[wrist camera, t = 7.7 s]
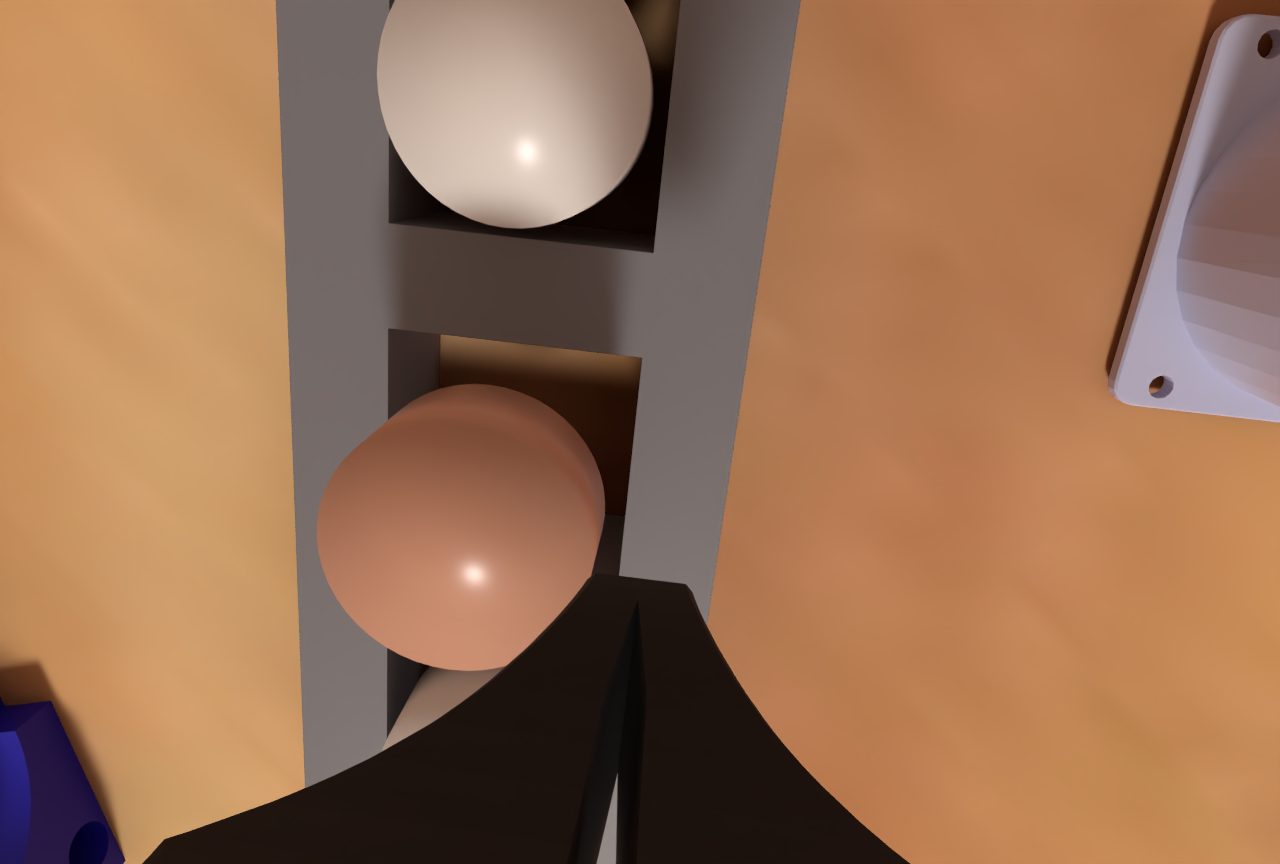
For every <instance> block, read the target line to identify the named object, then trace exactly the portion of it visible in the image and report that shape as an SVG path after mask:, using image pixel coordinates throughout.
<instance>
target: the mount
mask: <svg viewBox="0 0 1280 864" xmlns="http://www.w3.org/2000/svg"><path fill="white" fill-rule="evenodd" d="M394 1H395V0H276V16H277V43H278V70H279V97H280V124H281V151H282V178H283V204H284V231H285V258H286V285H287V312H288V339H289V366H290V393H291V420H292V447H293V474H294V501H295V528H296V555H297V582H298V609H299V636H300V662H301V689H302V716H303V743H304V770H305V788H307V787H309V786H311V785H313V784H316V783H318V782H320V781H322V780H325V779H327V778H329V777H332V776H334V775H336V774H338V773H340V772H342V771H344V770H346V769H348V768H350V767H352V766H355V765H357V764H359V763H361V762H363V761H365V760H367V759H369V758H371V757H373V756H375V755H377V754H378V753H380V752H381V751H382V748H383V746H384V744H385V742H386V740H387V738H388V736H389V734H390V732H391V730H392V728H393V727H394V725H395V723H396V721H397V719H398V717H399V715H400V713H401V711H402V710H403V708H404V706H405V704H406V702H407V700H408V698H409V696H410V694H411V693H412V691H413V689H414V687H415V685H416V683H417V682H418V680H419V679H420V677H421V676H422V675H423V673H424V672H425V671H426V670H427V669H428V668H429V667H430V666H429V665H426V664H422V663H419V662H416V661H413V660H411V659H409V658H406V657H404V656H402V655H399V654H398V653H396V652H394V651H392V650H390V649H389V648H387V647H385V646H383V645H382V644H381V643H379V642H378V641H376V640H375V639H374V638H372V637H371V636H370V635H368V634H367V633H366V632H365V631H364V630H363V629H362V628H361V627H359V626H358V625H357V624H356V623H355V621H354V620H353V619H352V618H351V617H350V616H349V615H348V614H347V612H346V611H345V610H344V608H343V607H342V606H341V604H340V603H339V601H338V600H337V598H336V597H335V595H334V593H333V591H332V589H331V587H330V586H329V584H328V581H327V579H326V576H325V574H324V571H323V568H322V565H321V561H320V557H319V553H318V544H317V517H318V512H319V507H320V502H321V499H322V497H323V494H324V491H325V488H326V486H327V484H328V482H329V480H330V479H331V477H332V475H333V473H334V472H335V470H336V469H337V468H338V466H339V465H340V464H341V462H342V461H343V460H344V459H345V458H346V457H347V456H348V455H349V454H350V453H351V452H352V451H353V450H354V449H355V448H356V447H357V446H359V445H360V444H361V443H362V442H363V441H364V440H366V439H367V438H368V437H369V436H370V435H371V434H373V433H374V432H375V431H376V430H377V429H378V428H380V427H381V426H382V425H383V424H384V423H385V422H387V421H388V420H389V419H390V418H391V417H392V416H394V415H395V414H396V413H397V412H398V411H399V410H401V409H402V408H403V407H405V406H406V405H408V404H409V403H410V402H412V401H413V400H415V399H417V398H419V397H421V396H423V395H425V394H427V393H430V392H432V391H435V390H438V389H439V357H440V334H443V335H451V336H460V337H468V338H477V339H486V340H494V341H503V342H511V343H520V344H529V345H537V346H546V347H554V348H563V349H572V350H580V351H589V352H597V353H606V354H615V355H623V356H632V357H640V358H642V366H641V375H640V384H639V394H638V403H637V412H636V422H635V431H634V440H633V450H632V459H631V468H630V478H629V487H628V496H627V506H626V515H625V516H620V515H612V514H605V517H604V523H603V529H602V533H601V537H600V541H599V545H598V549H597V553H596V557H595V562H594V566H593V570H592V574H591V576H593V575H594V574H595V573H602V574H610V575H618V576H626V577H634V578H642V579H650V580H658V581H666V582H674V583H682V584H686V585H687V586H688V587H689V588H690V590H691V591H692V592H693V595H694V598H695V600H696V603H697V605H698V608H699V610H700V613H701V615H702V617H703V619H704V621H705V623H706V625H707V622H708V615H709V608H710V602H711V595H712V588H713V582H714V575H715V568H716V562H717V555H718V548H719V542H720V535H721V528H722V522H723V515H724V508H725V502H726V495H727V488H728V482H729V475H730V468H731V461H732V455H733V448H734V441H735V435H736V428H737V421H738V415H739V408H740V401H741V395H742V388H743V381H744V375H745V368H746V361H747V355H748V348H749V341H750V335H751V328H752V321H753V315H754V308H755V301H756V295H757V288H758V281H759V275H760V268H761V261H762V255H763V248H764V241H765V235H766V228H767V221H768V215H769V208H770V201H771V195H772V188H773V181H774V175H775V168H776V161H777V155H778V148H779V141H780V135H781V128H782V121H783V115H784V108H785V101H786V95H787V88H788V81H789V75H790V68H791V61H792V55H793V48H794V41H795V35H796V28H797V21H798V15H799V8H800V1H801V0H681V2H680V11H679V20H678V30H677V39H676V48H675V58H674V67H673V76H672V86H671V95H670V104H669V114H668V123H667V132H666V142H665V151H664V160H663V170H662V179H661V188H660V198H659V207H658V216H657V226H656V235H646V234H637V233H629V232H620V231H611V230H602V229H593V228H584V227H575V226H566V225H557V224H549V225H545V226H541V227H533V228H522V229H521V228H503V227H498V226H492V225H487V224H484V223H481V222H478V221H475V220H472V219H470V218H468V217H466V216H463V215H461V214H459V213H450V212H443V203H441V202H440V201H439V200H437V199H436V198H435V197H434V196H433V195H431V194H430V193H429V192H428V191H427V190H426V189H425V188H424V187H423V186H422V185H421V184H420V183H419V182H418V181H417V180H416V179H415V177H414V176H413V175H412V173H411V172H410V171H409V169H408V168H407V167H406V165H405V164H404V163H403V161H402V159H401V157H400V156H399V154H398V152H397V151H396V149H395V147H394V145H393V142H392V140H391V138H390V136H389V133H388V131H387V128H386V125H385V122H384V118H383V115H382V112H381V106H380V101H379V95H378V83H377V63H378V51H379V46H380V40H381V35H382V32H383V29H384V25H385V22H386V19H387V16H388V14H389V12H390V10H391V8H392V5H393V3H394ZM617 780H618V774H617V778H616V782H615V787H614V791H613V796H612V800H611V804H610V809H609V813H608V817H607V821H606V826H605V830H604V834H603V839H602V843H601V847H600V851H599V856H598V860H597V864H616V830H617Z"/></svg>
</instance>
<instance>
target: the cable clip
mask: <svg viewBox="0 0 1280 864" xmlns="http://www.w3.org/2000/svg"><path fill="white" fill-rule="evenodd" d="M124 862H125V859H124V857H123V855H122V852H121V850H120V848H119V846H118V844H117V842H116V840H115V837H114V835H113V833H112V831H111V829H110V827H109V825H108V822H107V820H106V818H105V816H104V814H103V812H102V810H101V807H100V805H99V803H98V801H97V799H96V797H95V794H94V792H93V790H92V788H91V786H90V784H89V782H88V779H87V777H86V775H85V773H84V771H83V769H82V767H81V764H80V762H79V760H78V758H77V756H76V754H75V752H74V749H73V747H72V745H71V743H70V741H69V739H68V737H67V734H66V732H65V730H64V728H63V726H62V724H61V722H60V719H59V717H58V715H57V713H56V711H55V709H54V707H53V704H52V702H51V701H46V702H38V703H29V704H20V705H12V706H5V705H4V703H3V701H2V699H1V697H0V864H123V863H124Z"/></svg>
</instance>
